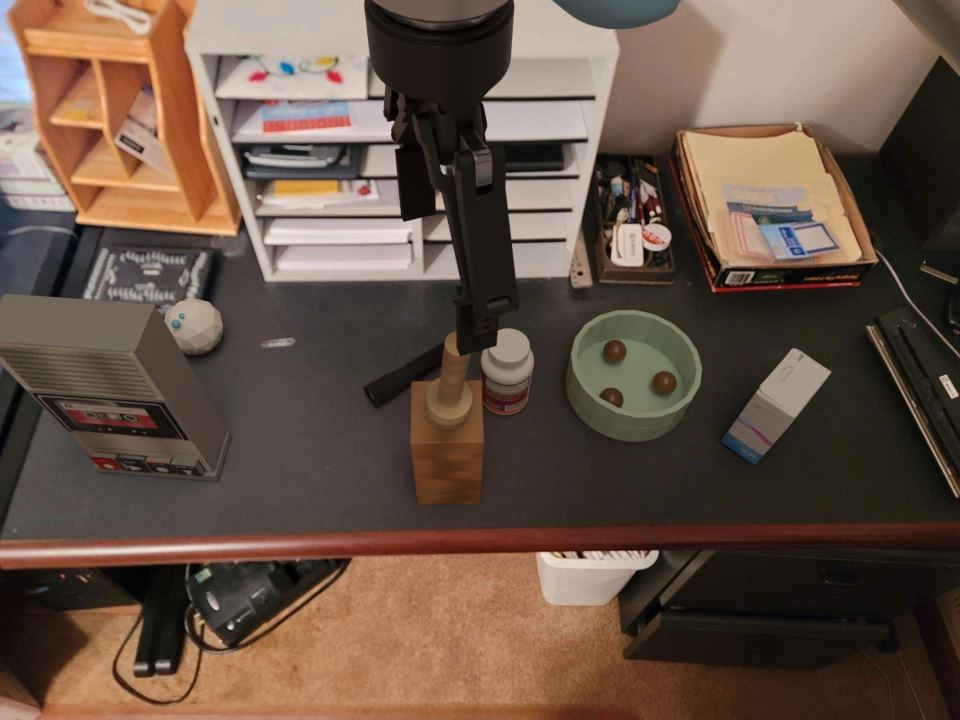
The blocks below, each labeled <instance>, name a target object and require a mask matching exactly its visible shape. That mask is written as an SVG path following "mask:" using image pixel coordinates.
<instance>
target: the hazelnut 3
mask: <svg viewBox="0 0 960 720" xmlns="http://www.w3.org/2000/svg"><path fill="white" fill-rule="evenodd" d="M676 386H677V380H676V378H675V376H674V375H673V374H672V373H671V372H668V371H660V372H658V373H656V374H655V375H654V377H653V379H652V387H653V389H654V391H655V392H656V393H658V394H660V395H669V394H671V393H672V392H674V390H675V389H676Z"/></svg>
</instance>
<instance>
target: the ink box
mask: <svg viewBox="0 0 960 720" xmlns="http://www.w3.org/2000/svg"><path fill="white" fill-rule="evenodd" d="M831 374H832V371H831V370H830V369H828V368H827V367H826V366H824V365H822V364H821V363H820V362H817V361H816V360H814V359H813V358H811V357H810V356H809V355H807V354H806V353H805V352H803V351H801V350H799V349H798V348H795V347H792V348H791V349H790V350H789V351H788V352H787V353H786V355H785V356H784V357H783V358H782V360H781V361H780V362H779V364H778V365H777V366H775V368H774V369H773V371H771V373H769V375H768V376H767V377H766V378H765V379H764V381H763V382H762V383H761V384H760V385H759V388H757V390H756V392H755V393H754V395H752V397H751V398H750V399H749V401H748V402H747V404H746V405H745V407H744V408H743V409H742V410H741V412H740V414H739V415H738V417H736V419H735V421H734V422H733V423H732V425H731V426H730V427H729V429H728V430H727V432H726V433H725V435H724V436H723V437H722V439H721V440H720V441H721V444H723V445H724V446H726V447H727V448H729V449H730V450H731V451H732V452H735V453H736V455H738V456H740V457H742V458H743V459H744V460H745V461H747V462H748V463H750V464H752V465H753V466H755V465H756V464H757V463H758V462H759V461H760V460H761V458H763V457H764V456H765V455H766V454H767V452H768V451H769V450H770V449H771V448H772V446H773V445H774V444H775V443H776V442H777V441H778V440H779V438H780V437H781V436H782V435H783V434H784V433H785V432H786V431H787V429H789V427H790V426H791V425H792V424H793V422H795V419H796V418H797V417H798V416H799V414H800V413H801V412H802V411H803V410H804V408H805V407H806V406H807V405H808V403H810V401H811V400H812V398H813V397H814V396H815V394H817V392H818V391H819V390H820V388H821V386H822V385H823V384H824V383H825V381H826V380H828V378H829V376H830V375H831Z"/></svg>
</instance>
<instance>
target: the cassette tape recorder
mask: <svg viewBox="0 0 960 720" xmlns="http://www.w3.org/2000/svg"><path fill="white" fill-rule="evenodd" d="M164 319H165V318H163V316H162V314H161V312H160V311H159V309H158V307H157V305H156V304H154V303H140V302H139V303H138V302H125V301H114V300H112V301H111V300H110V301H109V300H98V299H85V298H84V299H83V298H70V297H58V296H57V297H56V296H44V295H29V294H17V293H4V295H3V297H2V298H1V299H0V365H1V366H2V367H3V368H4V370H6V371H7V373H9V374H10V376H12V377H13V379H15V381H16V382H17V383H18V384H19V385H20V386H21V387H22V388H23V389H24V390H25V391H26V392H27V393H28V394H29V395H30V396H31V397H32V398H33V399H34V400H35V401H36V402H37V403H38V404H39V405H40V406H41V407H42V408H43V410H44V411H46V413H48V414H49V416H50V417H51V418H53V420H54V421H55V422H56V423H57V424H58V425H59V426H60V427H61V428H62V429H63V430H64V431H65V432H66V433H67V434H68V435H69V436H70V437H71V438H72V439H73V440H74V441H75V442H76V443H77V444H78V445H79V446H80V447H81V448H82V449H83V451H85V452H86V453H87V455H89V458H90V460H92V461H93V462H94V464H93V469H94V470H95V471H96V472H97V473H110V474H111V473H112V474H122V475H123V474H124V475H135V476H136V475H137V476H149V477H150V476H151V477H162V478H173V479H174V478H175V479H189V480H200V481H215V482H218V481H219V480H220V479H219V478H220V476H221V472H222V470H223V465H224V463H225V459H226V457H227V453H228V449H229V447H230V443H231V439H232V437H233V435H232V433H231V430H228V429H227V428H226V426H225V424H224V422H223V421H222V418H221V417H220V415H219V413H218V412H217V410H216V408H215V406H214V405H213V403H212V402H211V400H210V397H209V396H208V394H207V392H206V391H205V389H204V388H203V385H202V384H201V382H200V380H199V378H198V377H197V375H196V374H195V372H194V370H193V368H192V367H191V365H190V363H189V361H188V360H187V357H186V356H185V353H182V351H181V349H180V347H179V346H178V344H177V342H176V340H175V339H174V337H173V335H172V333H171V332H170V330H169V328H168V326H167V325H166V323H165V321H164Z"/></svg>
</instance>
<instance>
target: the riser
mask: <svg viewBox="0 0 960 720" xmlns="http://www.w3.org/2000/svg"><path fill="white" fill-rule="evenodd" d="M433 381H434V380H432V381H431V380H425V381H424V380H422V381H417V380H416V381H413V382H411V383H410V384H411V388H410V389H411V392H410V393H411V394H410V441H409V442H410V452H411V459H412V469H413V476H414V477H413V478H414V485H415V491H416V492H415V493H416V502H417V506H440V505H441V506H442V505H443V506H444V505H447V506H448V505H478V504H481V495H482V482H483V481H482V480H483V464H484V451H485V449H484V448H485V431H484V409H483V408H484V407H483V403H482V386H481V380H480V379H479V380H477V379H476V380H475V379H474V380H472V379H471V380H465V382H466V383H467V384H468V386H469V387H470V389H471V392H472V396H473V400H472V405H471V409H470V413H469V416H468V419H467V420H466V422H465V423H464V424H463V425H462V426H460V427H459V428H456V429H453V430H442V429H439V428H437V427H435V426H433V425H432V424H431V423H430V422H429V421H428V419H427V417H426V415H425V397H426V391H427V389H428V387H429V385H430V384H431V383H432V382H433Z"/></svg>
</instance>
